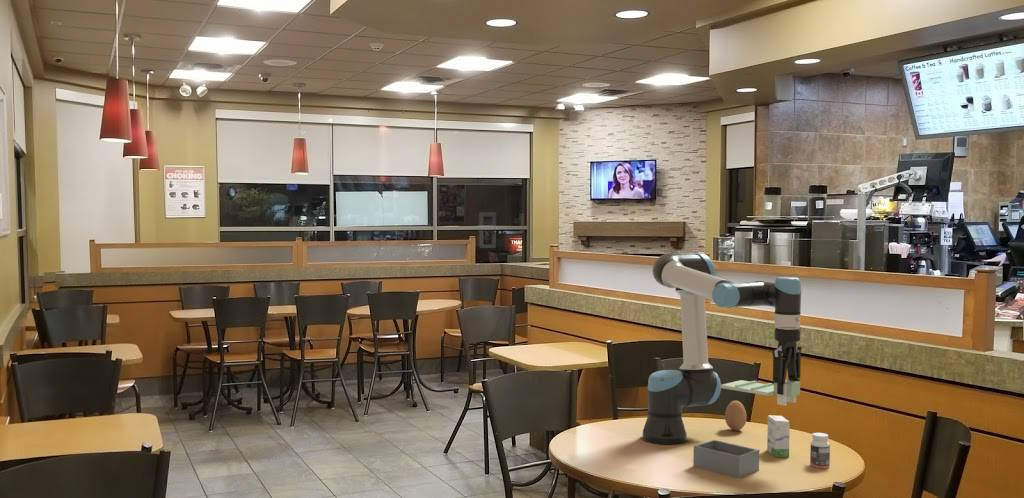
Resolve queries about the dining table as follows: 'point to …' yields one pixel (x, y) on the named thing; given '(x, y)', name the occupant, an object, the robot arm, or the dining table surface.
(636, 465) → the dining table surface
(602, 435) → the dining table surface
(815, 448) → the pill bottle
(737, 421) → the egg
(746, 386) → the lid
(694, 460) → the tub
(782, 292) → the robot arm
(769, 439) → the ink box
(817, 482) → the dining table surface
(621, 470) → the dining table surface
